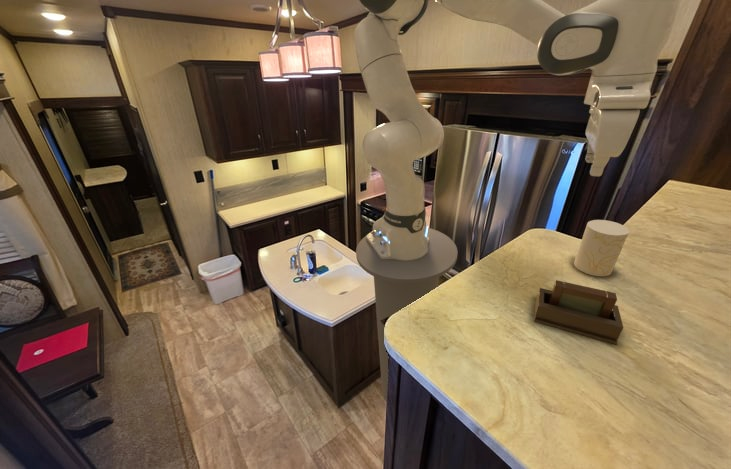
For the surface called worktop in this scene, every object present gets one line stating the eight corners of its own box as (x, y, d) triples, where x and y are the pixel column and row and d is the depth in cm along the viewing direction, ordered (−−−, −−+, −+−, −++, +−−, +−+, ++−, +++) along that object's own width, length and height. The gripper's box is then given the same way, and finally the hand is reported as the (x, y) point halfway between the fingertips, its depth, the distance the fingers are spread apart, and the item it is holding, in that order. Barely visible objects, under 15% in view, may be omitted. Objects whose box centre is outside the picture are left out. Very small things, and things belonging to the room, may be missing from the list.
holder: (535, 299, 68) (539, 285, 66) (610, 318, 61) (617, 303, 59) (534, 321, 62) (538, 307, 60) (616, 344, 55) (624, 329, 53)
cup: (579, 274, 74) (594, 233, 68) (570, 257, 81) (582, 218, 75) (617, 278, 72) (636, 236, 66) (604, 259, 79) (619, 220, 73)
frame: (546, 308, 64) (555, 279, 60) (602, 322, 60) (615, 293, 56) (546, 314, 63) (555, 285, 59) (603, 329, 58) (617, 299, 54)
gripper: (589, 89, 61) (571, 154, 68) (601, 99, 46) (576, 182, 52) (627, 87, 58) (604, 156, 65) (654, 97, 43) (620, 186, 49)
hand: (592, 168), depth 58 cm, fingers open, 8 cm apart
